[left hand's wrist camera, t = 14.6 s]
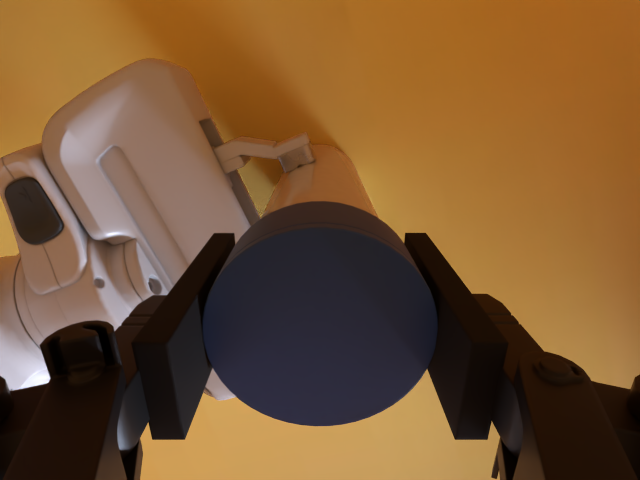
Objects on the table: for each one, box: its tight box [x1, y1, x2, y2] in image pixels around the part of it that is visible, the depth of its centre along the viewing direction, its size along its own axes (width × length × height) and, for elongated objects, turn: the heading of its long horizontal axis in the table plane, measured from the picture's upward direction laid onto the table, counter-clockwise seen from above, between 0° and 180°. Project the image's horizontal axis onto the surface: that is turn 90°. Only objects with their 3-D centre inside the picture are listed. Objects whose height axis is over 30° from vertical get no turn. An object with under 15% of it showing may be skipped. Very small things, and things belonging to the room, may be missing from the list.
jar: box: [262, 144, 378, 218], centre depth 19 cm, size 6×6×18 cm
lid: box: [202, 201, 438, 426], centre depth 11 cm, size 6×6×2 cm
